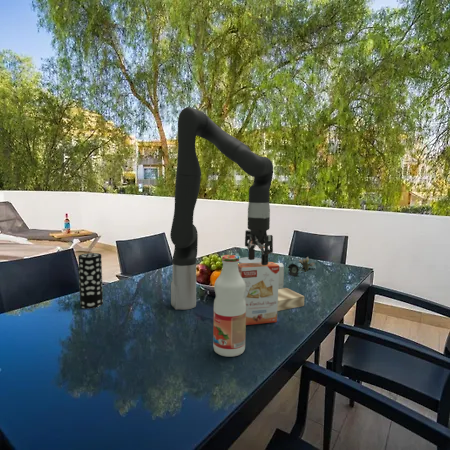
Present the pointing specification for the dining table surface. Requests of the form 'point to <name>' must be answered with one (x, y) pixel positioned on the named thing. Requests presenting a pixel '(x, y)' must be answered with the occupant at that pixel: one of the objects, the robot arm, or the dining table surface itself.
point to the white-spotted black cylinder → (90, 280)
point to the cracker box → (260, 291)
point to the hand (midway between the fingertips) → (257, 262)
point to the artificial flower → (295, 269)
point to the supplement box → (281, 275)
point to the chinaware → (246, 260)
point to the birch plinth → (289, 299)
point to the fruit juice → (229, 309)
